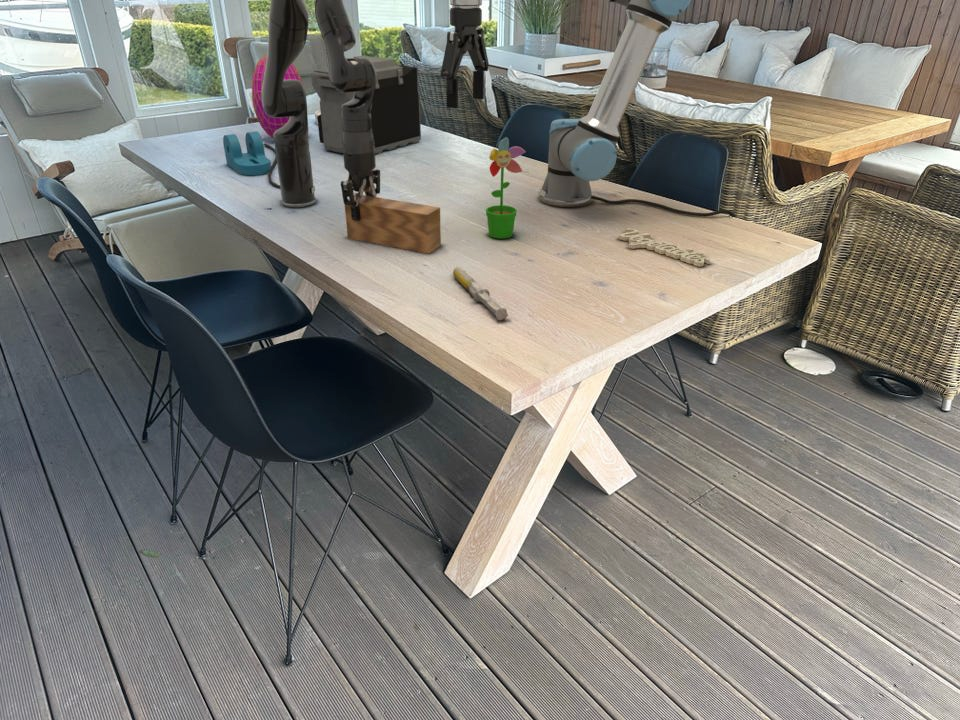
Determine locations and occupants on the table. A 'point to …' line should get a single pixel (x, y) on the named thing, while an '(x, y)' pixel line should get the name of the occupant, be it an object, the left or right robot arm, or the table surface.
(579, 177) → the right robot arm
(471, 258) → the table surface
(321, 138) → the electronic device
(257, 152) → the camera mount
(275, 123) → the decorative egg
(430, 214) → the box
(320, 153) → the table surface
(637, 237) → the decorative sign
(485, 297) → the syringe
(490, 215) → the potted flower
